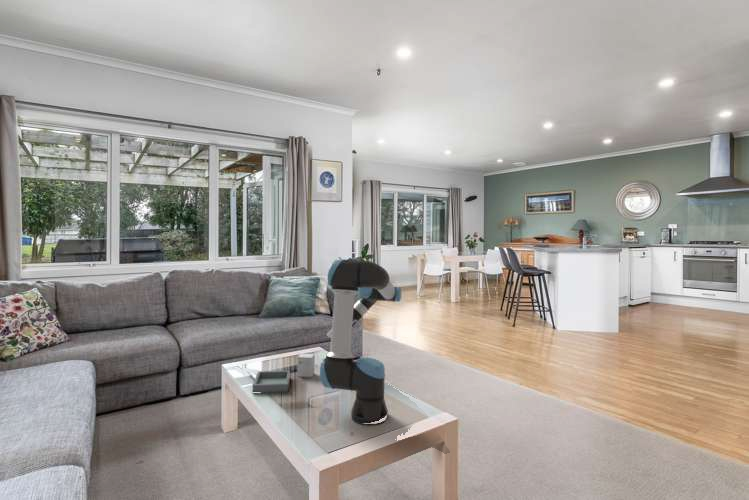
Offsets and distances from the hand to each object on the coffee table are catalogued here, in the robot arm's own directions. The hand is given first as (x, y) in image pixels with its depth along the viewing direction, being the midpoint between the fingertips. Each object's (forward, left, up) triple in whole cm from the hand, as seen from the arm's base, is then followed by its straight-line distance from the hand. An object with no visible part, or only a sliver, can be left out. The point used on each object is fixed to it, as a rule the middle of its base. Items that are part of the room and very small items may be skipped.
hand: (330, 340), depth 211 cm
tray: (-15, +29, -18) cm, 37 cm away
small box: (-2, +13, -18) cm, 22 cm away
